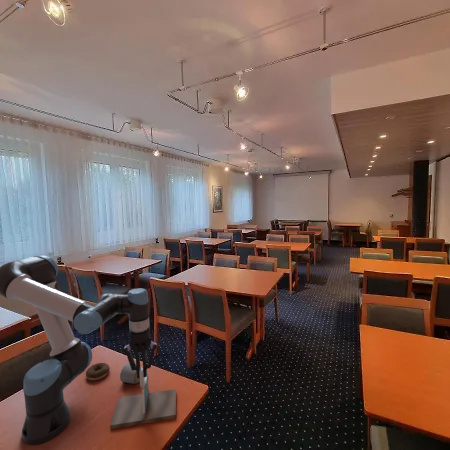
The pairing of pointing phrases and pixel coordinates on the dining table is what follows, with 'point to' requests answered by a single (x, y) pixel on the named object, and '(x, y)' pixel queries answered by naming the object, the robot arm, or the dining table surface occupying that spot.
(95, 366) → the donut
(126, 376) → the ceramic mug
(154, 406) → the hinge board
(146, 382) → the tile
